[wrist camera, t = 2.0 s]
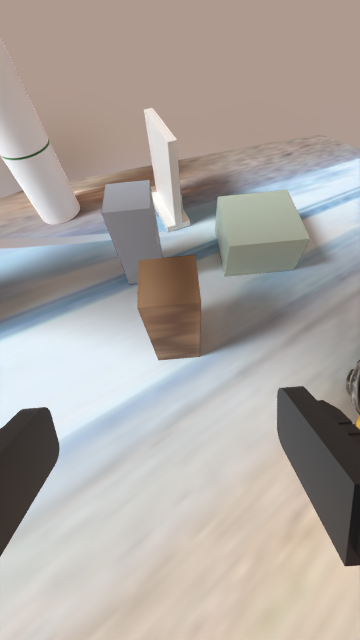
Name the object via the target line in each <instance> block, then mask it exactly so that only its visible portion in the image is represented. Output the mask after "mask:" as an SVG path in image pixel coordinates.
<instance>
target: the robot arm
mask: <svg viewBox="0 0 360 640" xmlns="http://www.w3.org/2000/svg"><path fill="white" fill-rule="evenodd" d="M277 430H278V436H279V440H280V443H281V445H282V448H283V449H284V451H285V453H286V455H287V457H288V459H289V461H290V463H291V465H292V467H293V469H294V470H295V472H296V474H297V476H298V478H299V480H300V482H301V484H302V486H303V488H304V489H305V491H306V493H307V495H308V497H309V499H310V501H311V503H312V505H313V507H314V508H315V510H316V512H317V514H318V516H319V518H320V520H321V522H322V524H323V526H324V527H325V529H326V531H327V533H328V535H329V537H330V539H331V541H332V543H333V545H334V547H335V548H336V550H337V552H338V554H339V556H340V558H341V560H342V562H343V564H344V566H356V565H360V429H359V428H358V427H357V426H356V425H355V424H352V421H351V420H350V419H349V418H348V417H347V416H346V415H345V414H344V413H342V412H341V411H340V410H339V409H338V408H336V407H334V406H332V405H330V404H329V403H327V402H325V401H323V400H320V401H317V400H316V399H315V398H314V397H313V396H312V395H311V394H310V393H309V392H308V390H307V389H306V388H305V387H303V386H298V387H286V388H279V390H278V395H277ZM58 455H59V442H58V438H57V434H56V431H55V427H54V423H53V420H52V416H51V413H50V411H49V409H48V408H46V407H42V408H30V409H22V410H20V411H19V412H18V413H17V414H16V415H15V416H14V417H13V418H12V419H11V420H10V421H9V422H8V423H7V424H6V425H5V426H4V427H2V428H1V429H0V556H1V555H2V553H3V551H4V549H5V548H6V546H7V544H8V543H9V541H10V539H11V538H12V536H13V534H14V533H15V531H16V529H17V528H18V526H19V524H20V523H21V521H22V519H23V518H24V516H25V514H26V513H27V511H28V509H29V508H30V506H31V504H32V502H33V501H34V499H35V497H36V496H37V494H38V492H39V491H40V489H41V487H42V486H43V484H44V482H45V481H46V479H47V477H48V476H49V474H50V472H51V471H52V469H53V467H54V466H55V464H56V462H57V459H58Z"/></svg>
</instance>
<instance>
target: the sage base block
mask: <svg viewBox="0 0 360 640" xmlns="http://www.w3.org/2000/svg"><path fill="white" fill-rule="evenodd" d="M215 231H216V236H217V241H218V246H219V251H220V255H221V260H222V265H223V270H224V275H225V276H235V275H246V274H257V273H268V272H279V271H289V270H294V269H295V267H296V265H297V264H298V262H299V260H300V258H301V256H302V254H303V252H304V250H305V248H306V246H307V244H308V242H309V240H310V237H309V235H308V232H307V230H306V228H305V226H304V224H303V222H302V220H301V218H300V216H299V214H298V211H297V209H296V207H295V205H294V203H293V201H292V199H291V197H290V195H289V192H288V190H280V191H270V192H260V193H250V194H240V195H230V196H220V197H218V199H217V212H216V225H215Z"/></svg>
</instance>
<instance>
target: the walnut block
mask: <svg viewBox="0 0 360 640" xmlns="http://www.w3.org/2000/svg"><path fill="white" fill-rule="evenodd" d="M138 310H139V313H140V315H141V318H142V320H143V323H144V325H145V328H146V330H147V333H148V335H149V338H150V340H151V343H152V345H153V348H154V350H155V353H156V355H157V357H158V360H167V359H179V358H191V357H200V324H201V298H200V290H199V282H198V275H197V267H196V259H195V255H189V256H179V257H168V258H157V259H146V260H139V267H138Z"/></svg>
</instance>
